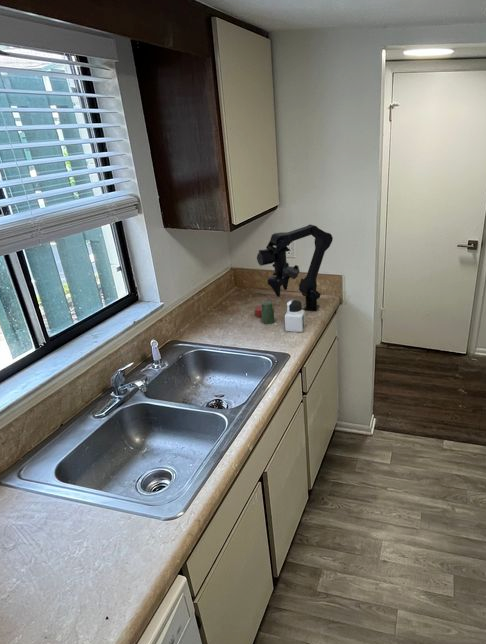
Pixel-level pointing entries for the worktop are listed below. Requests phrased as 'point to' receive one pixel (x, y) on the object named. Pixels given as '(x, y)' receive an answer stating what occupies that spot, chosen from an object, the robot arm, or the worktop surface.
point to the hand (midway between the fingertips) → (282, 293)
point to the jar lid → (258, 311)
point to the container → (294, 317)
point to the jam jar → (267, 312)
